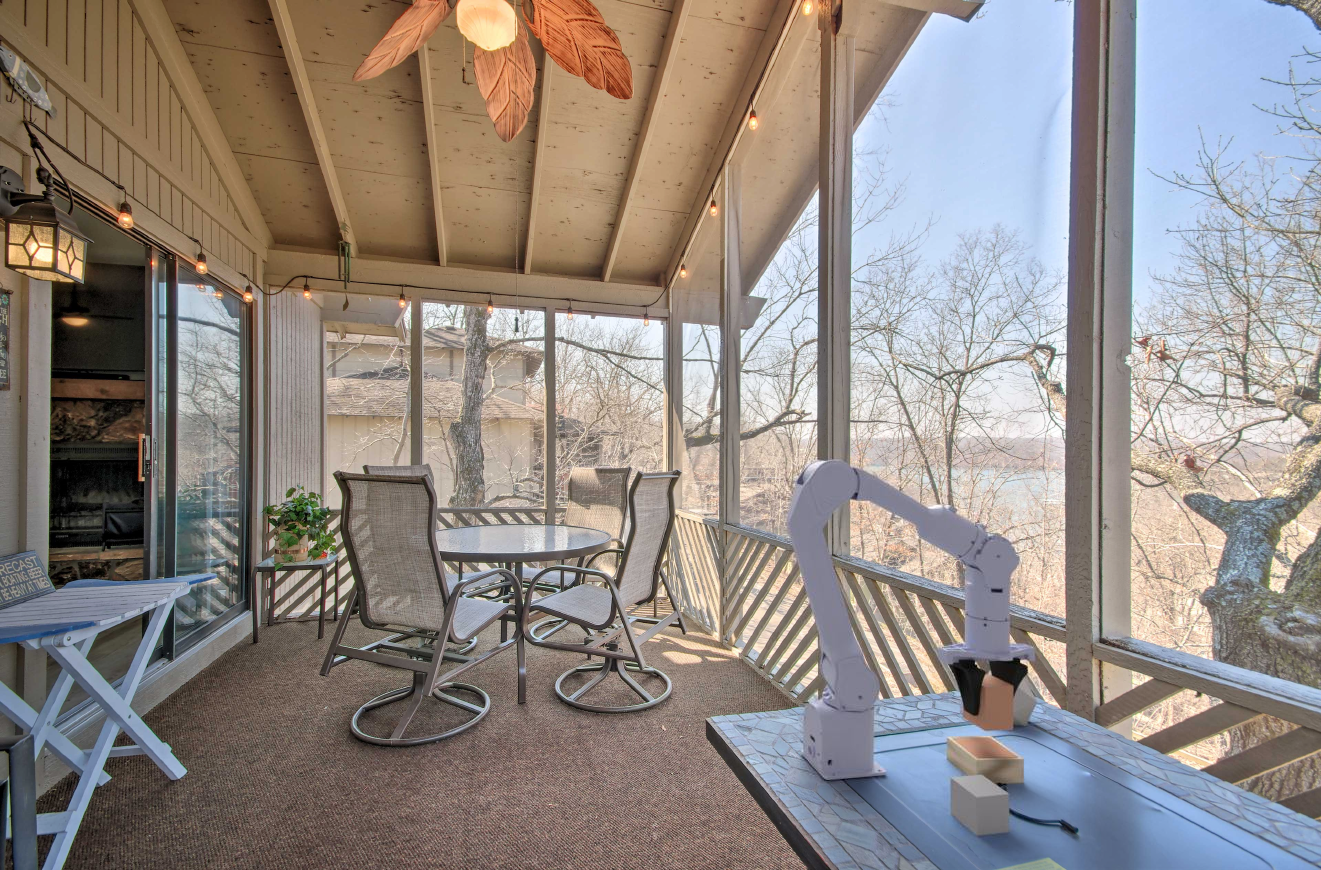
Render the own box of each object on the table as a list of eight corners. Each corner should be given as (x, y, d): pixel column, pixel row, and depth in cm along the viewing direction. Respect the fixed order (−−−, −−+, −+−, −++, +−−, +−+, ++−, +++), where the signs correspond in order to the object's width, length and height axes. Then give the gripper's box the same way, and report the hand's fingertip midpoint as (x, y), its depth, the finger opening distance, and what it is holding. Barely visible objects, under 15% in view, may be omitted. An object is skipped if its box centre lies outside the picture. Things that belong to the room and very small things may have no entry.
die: (1034, 720, 105) (999, 666, 110) (1058, 713, 98) (1020, 656, 103) (994, 738, 104) (961, 683, 109) (1015, 733, 97) (978, 674, 102)
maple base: (976, 786, 82) (976, 759, 82) (946, 760, 89) (946, 736, 89) (1023, 784, 82) (1023, 758, 83) (990, 759, 89) (990, 735, 90)
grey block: (976, 836, 70) (976, 797, 70) (950, 814, 74) (950, 777, 75) (1009, 832, 71) (1009, 793, 71) (981, 810, 75) (981, 774, 76)
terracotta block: (985, 731, 83) (985, 687, 83) (962, 717, 87) (963, 675, 87) (1013, 729, 84) (1013, 685, 84) (989, 715, 88) (989, 674, 88)
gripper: (962, 624, 81) (961, 726, 80) (1052, 622, 84) (1052, 721, 83) (929, 611, 88) (928, 705, 87) (1013, 610, 91) (1013, 701, 90)
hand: (986, 711), depth 86 cm, fingers closed on terracotta block, 4 cm apart
